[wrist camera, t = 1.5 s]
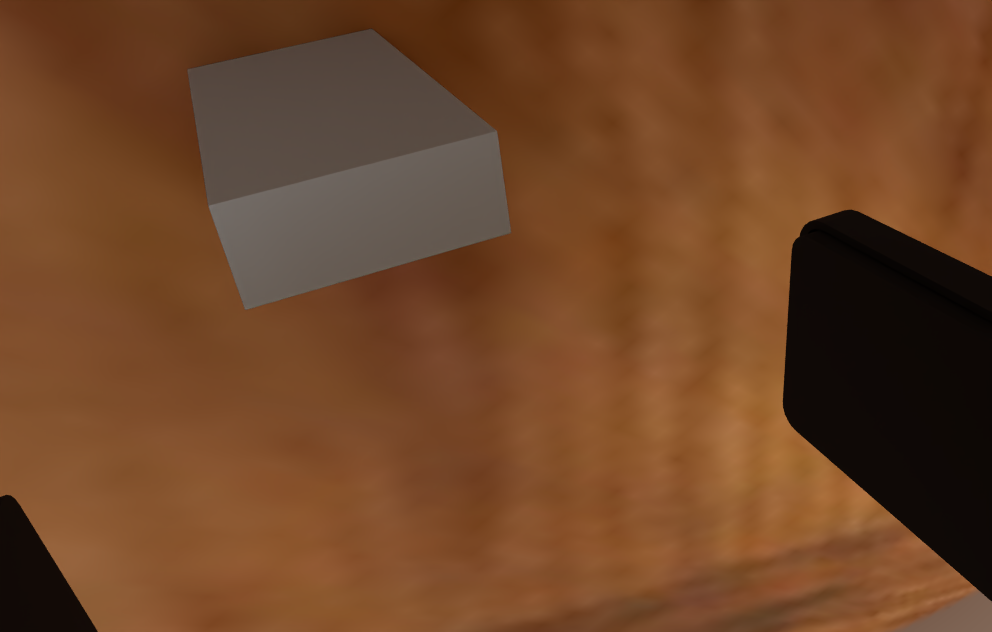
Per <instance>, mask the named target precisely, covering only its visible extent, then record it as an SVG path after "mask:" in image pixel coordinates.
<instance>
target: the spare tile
mask: <svg viewBox="0 0 992 632" xmlns="http://www.w3.org/2000/svg"><path fill="white" fill-rule="evenodd" d="M187 71H188V77H189V84H190V90H191V97H192V103H193V110H194V116H195V123H196V129H197V136H198V142H199V149H200V155H201V162H202V168H203V175H204V181H205V188H206V194H207V201H208V206H209V209H210V212H211V215H212V218H213V221H214V223H215V226H216V229H217V232H218V235H219V237H220V240H221V243H222V246H223V249H224V252H225V254H226V257H227V260H228V263H229V266H230V268H231V271H232V274H233V277H234V280H235V283H236V285H237V288H238V291H239V294H240V297H241V299H242V302H243V305H244V308H245V310H247V309H251V308H254V307H257V306H261V305H264V304H268V303H271V302H275V301H278V300H282V299H285V298H289V297H292V296H295V295H299V294H302V293H306V292H309V291H313V290H316V289H320V288H323V287H326V286H330V285H333V284H337V283H340V282H344V281H347V280H351V279H354V278H357V277H361V276H364V275H368V274H371V273H375V272H378V271H382V270H385V269H388V268H392V267H395V266H399V265H402V264H406V263H409V262H413V261H416V260H419V259H423V258H426V257H430V256H433V255H437V254H440V253H444V252H447V251H450V250H454V249H457V248H461V247H464V246H468V245H471V244H475V243H478V242H481V241H485V240H488V239H492V238H495V237H499V236H502V235H506V234H509V233H511V228H510V221H509V214H508V206H507V199H506V192H505V185H504V178H503V170H502V163H501V156H500V149H499V142H498V134H497V131H496V130H495V129H494V128H493V127H491V126H490V125H489V124H488V123H487V122H485V121H484V120H483V119H482V118H480V117H479V116H478V115H477V114H476V113H474V112H473V111H472V110H471V109H470V108H468V107H467V106H466V105H465V104H463V103H462V102H461V101H460V100H459V99H457V98H456V97H455V96H454V95H452V94H451V93H450V92H449V91H448V90H446V89H445V88H444V87H443V86H441V85H440V84H439V83H438V82H437V81H435V80H434V79H433V78H432V77H430V76H429V75H428V74H427V73H426V72H424V71H423V70H422V69H421V68H419V67H418V66H417V65H416V64H415V63H413V62H412V61H411V60H410V59H408V58H407V57H406V56H405V55H404V54H402V53H401V52H400V51H399V50H397V49H396V48H395V47H394V46H393V45H391V44H390V43H389V42H388V41H386V40H385V39H384V38H383V37H382V36H380V35H379V34H378V33H377V32H375V31H374V30H373V29H368V30H363V31H359V32H354V33H350V34H345V35H341V36H336V37H332V38H327V39H322V40H318V41H313V42H309V43H304V44H300V45H295V46H291V47H286V48H282V49H277V50H273V51H268V52H264V53H259V54H254V55H250V56H245V57H241V58H236V59H232V60H227V61H223V62H218V63H214V64H209V65H205V66H200V67H195V68H191V69H187Z"/></svg>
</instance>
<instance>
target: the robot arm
mask: <svg viewBox="0 0 992 632" xmlns="http://www.w3.org/2000/svg"><path fill="white" fill-rule="evenodd" d="M783 408H784V412H785V415H786V417H787V420H788V421H789V423H790V424H791V426H792V427H793V428H794V429H795V430H796V431H797V432H798V433H799V434H800V435H801V436H803V437H804V438H805V439H806V440H807V441H808V442H809V443H811V444H812V445H813V446H814V447H815V448H816V449H817V450H819V451H820V452H821V453H822V454H823V455H824V456H825V457H827V458H828V459H829V460H830V461H831V462H832V463H834V464H835V465H836V466H837V467H838V468H839V469H840V470H842V471H843V472H844V473H845V474H846V475H847V476H848V477H850V478H851V479H852V480H853V481H854V482H855V483H856V484H858V485H859V486H860V487H861V488H862V489H863V490H864V491H866V492H867V493H868V494H869V495H870V496H871V497H872V498H874V499H875V500H876V501H877V502H878V503H879V504H881V505H882V506H883V507H884V508H885V509H886V510H887V511H889V512H890V513H891V514H892V515H893V516H894V517H895V518H897V519H898V520H899V521H900V522H901V523H902V524H903V525H905V526H906V527H907V528H908V529H909V530H910V531H911V532H913V533H914V534H915V535H916V536H917V537H918V538H920V539H921V540H922V541H923V542H924V543H925V544H926V545H928V546H929V547H930V548H931V549H932V550H933V551H934V552H936V553H937V554H938V555H939V556H940V557H941V558H942V559H944V560H945V561H946V562H947V563H948V564H949V565H950V566H952V567H953V568H954V569H955V570H956V571H957V572H959V573H960V574H961V575H962V576H963V577H964V578H965V579H967V580H968V581H969V582H970V583H971V584H972V585H973V586H975V587H976V588H977V589H978V590H979V591H980V592H981V593H983V594H984V595H985V596H986V597H987V598H988V599H989V600H991V601H992V276H989V275H987V274H985V273H983V272H981V271H979V270H977V269H975V268H973V267H971V266H969V265H967V264H965V263H963V262H961V261H959V260H957V259H955V258H953V257H950V256H948V255H946V254H944V253H942V252H940V251H938V250H936V249H934V248H932V247H930V246H928V245H926V244H924V243H922V242H920V241H918V240H916V239H914V238H911V237H909V236H907V235H905V234H903V233H901V232H899V231H897V230H895V229H893V228H891V227H889V226H887V225H885V224H883V223H881V222H879V221H877V220H874V219H872V218H870V217H868V216H866V215H864V214H862V213H860V212H858V211H854V210H844V211H841V212H838V213H835V214H832V215H829V216H826V217H822V218H819V219H816V220H813V221H810V222H808V223H807V224H806V225H804V227H803V229H802V230H801V233H800V237H798V238H797V239H796V240H795V242H794V243H793V247H792V256H791V273H790V290H789V307H788V323H787V340H786V357H785V374H784V391H783ZM0 632H98V631H97V630H96V628H95V626H94V625H93V623H92V621H91V620H90V618H89V617H88V615H87V613H86V612H85V610H84V608H83V607H82V605H81V604H80V602H79V600H78V599H77V597H76V596H75V594H74V592H73V591H72V589H71V587H70V586H69V584H68V583H67V581H66V579H65V578H64V576H63V574H62V573H61V571H60V570H59V568H58V566H57V565H56V563H55V561H54V560H53V558H52V557H51V555H50V553H49V552H48V550H47V548H46V547H45V545H44V544H43V542H42V540H41V539H40V537H39V535H38V534H37V532H36V531H35V529H34V527H33V526H32V524H31V522H30V521H29V519H28V518H27V516H26V514H25V513H24V511H23V510H22V508H21V506H20V505H19V503H18V502H17V501H16V499H15V498H13V497H12V496H10V495H5V496H2V497H0Z"/></svg>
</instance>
